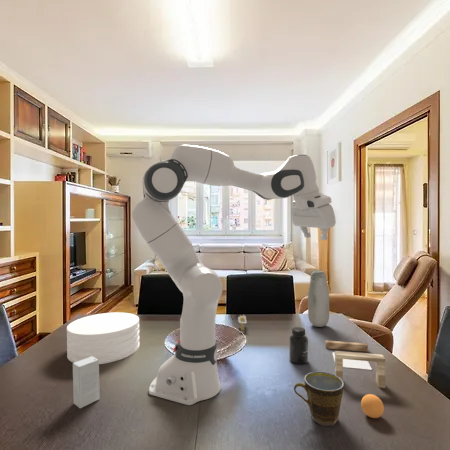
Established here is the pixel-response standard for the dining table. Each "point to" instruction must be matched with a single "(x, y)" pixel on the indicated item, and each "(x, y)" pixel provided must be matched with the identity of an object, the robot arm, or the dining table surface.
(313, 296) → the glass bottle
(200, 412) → the dining table surface
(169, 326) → the dining table surface
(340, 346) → the rail
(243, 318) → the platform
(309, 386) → the ceramic cup
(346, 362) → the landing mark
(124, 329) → the plate stack
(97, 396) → the skincare box
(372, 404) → the ball
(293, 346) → the supplement bottle
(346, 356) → the bridge
